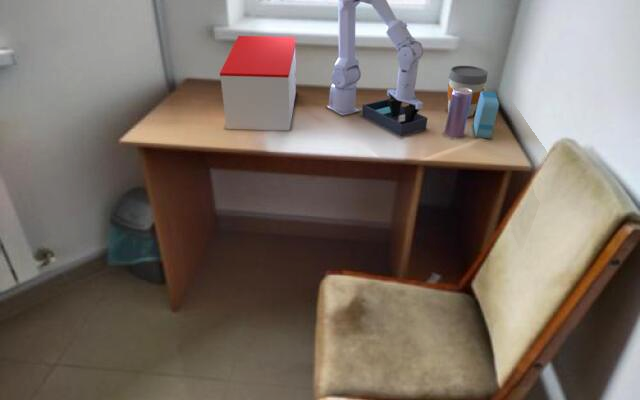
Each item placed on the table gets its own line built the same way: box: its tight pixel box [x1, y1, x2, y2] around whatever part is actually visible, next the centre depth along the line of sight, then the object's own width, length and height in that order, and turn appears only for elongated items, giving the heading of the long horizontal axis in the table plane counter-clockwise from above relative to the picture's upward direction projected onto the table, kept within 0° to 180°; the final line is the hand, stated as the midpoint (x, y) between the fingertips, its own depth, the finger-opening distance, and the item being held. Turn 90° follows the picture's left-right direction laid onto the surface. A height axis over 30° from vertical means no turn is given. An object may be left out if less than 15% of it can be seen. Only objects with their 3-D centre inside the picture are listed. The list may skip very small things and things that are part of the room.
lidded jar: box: [447, 65, 488, 118], centre depth 154 cm, size 13×13×15 cm
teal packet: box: [375, 107, 392, 118], centre depth 151 cm, size 4×7×3 cm, turn 124°
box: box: [361, 98, 429, 137], centre depth 148 cm, size 20×11×4 cm, turn 34°
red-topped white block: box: [219, 35, 297, 131], centre depth 151 cm, size 21×35×21 cm, turn 179°
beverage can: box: [444, 87, 472, 139], centre depth 138 cm, size 6×6×15 cm
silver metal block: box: [391, 114, 414, 124], centre depth 145 cm, size 4×7×3 cm, turn 124°
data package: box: [473, 90, 500, 139], centre depth 141 cm, size 12×4×12 cm, turn 167°
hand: (401, 122), depth 145 cm, fingers open, 6 cm apart
